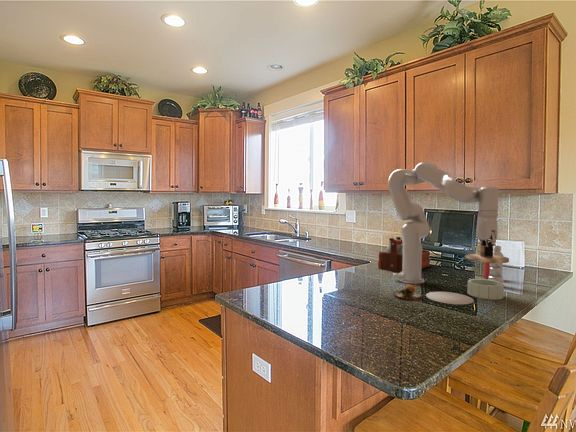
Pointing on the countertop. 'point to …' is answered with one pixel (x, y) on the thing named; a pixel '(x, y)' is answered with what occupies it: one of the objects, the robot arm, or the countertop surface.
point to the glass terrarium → (408, 293)
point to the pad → (449, 298)
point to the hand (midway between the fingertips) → (486, 254)
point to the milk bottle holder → (398, 256)
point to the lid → (486, 257)
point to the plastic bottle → (496, 267)
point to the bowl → (485, 289)
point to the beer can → (486, 270)
